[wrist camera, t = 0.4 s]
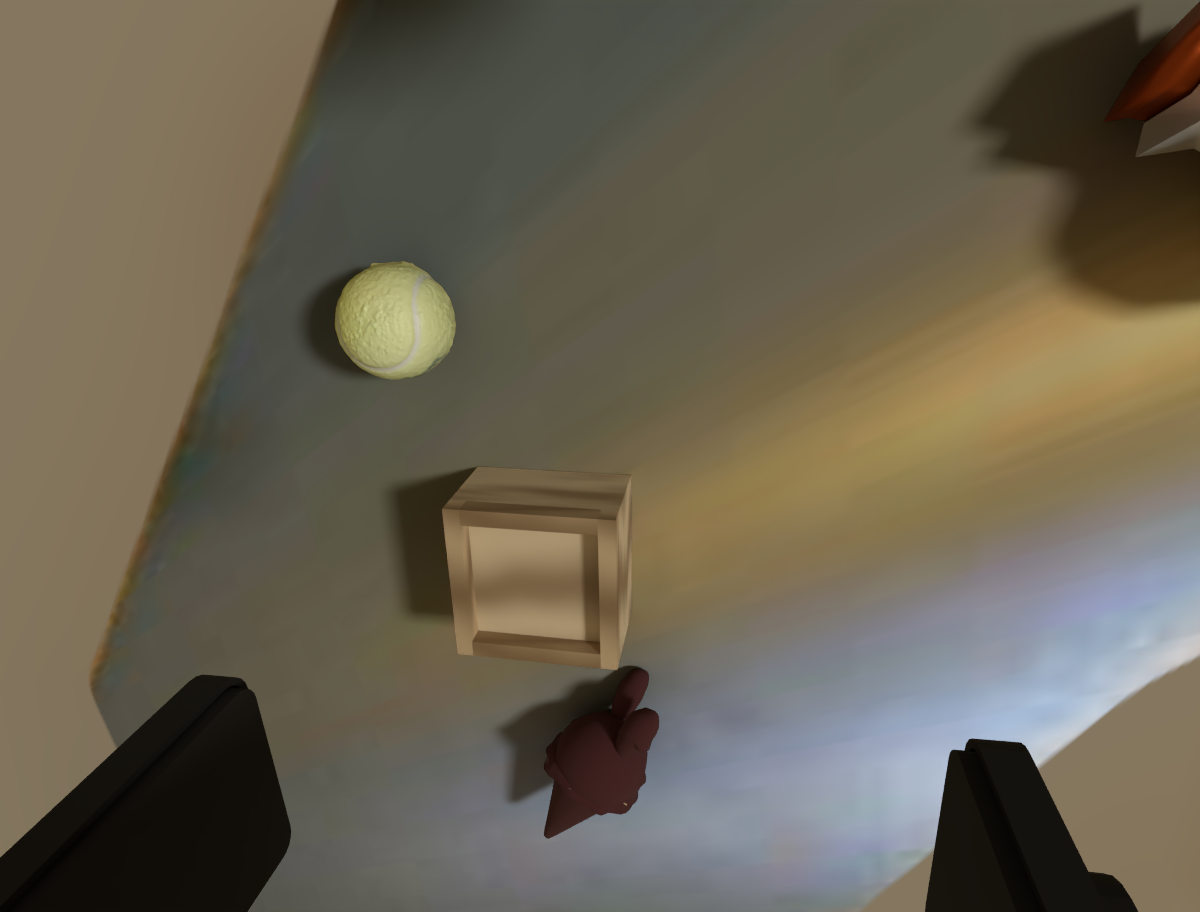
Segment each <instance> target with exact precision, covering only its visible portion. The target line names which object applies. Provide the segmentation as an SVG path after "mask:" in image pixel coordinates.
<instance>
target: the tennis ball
mask: <svg viewBox="0 0 1200 912" xmlns="http://www.w3.org/2000/svg"><path fill="white" fill-rule="evenodd" d="M455 327H456V323H455V313H454V309H453V307H452V304H451V301H450V298H449V297H448V295H447V293H446V292H445V291H444V289H443V288H442V287H441V286H440V284H438V283H437V282H435V281H434V280H433V279H432V277H431V276H430V275H429V274H428V273H427V272H425V271H424V270H422V269H420V268H418V267H416V266H414V264H412V263H407V262H404V261H401V262H389V263H382V264H381V263H372V264H371V266H370V267H369V268H368V269H365V270H364V271H362V272H361V273H359V274H357V275H356V276H354V277H353V278H352V279H351V280H350V281H349V282H348V283H347V284H346V286H345V287H344V289H343V291H342V295H341V296H340V298H339V300H338V303H337V307H336V312H335V330H336V333H337V336H338V339H339V343H340V345H341V346H342V348H343V350H344V351H345V352H346V354H347V355H348V356H349V357H350V358H351V360H352V361H353V362H354V363H355V364H356V365H357V366H359V367H360V368H361V369H363V370H365V371H367V372H369V373H371V374H373V375H375V376H378V377H381V378H384V379H407V378H414V377H417V376H419V375H423V374H425V373H427V372H429V371H430V370H431V369H433V368H434V367H435V366H436V365H437V364H438V363H440V362H441V360H442V359H443V358H444V357H446V355H447V353H448V352H449V350H450V348H451V346H452V344H453V342H452V341H453V339H454V335H455V331H456V330H455Z"/></svg>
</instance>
